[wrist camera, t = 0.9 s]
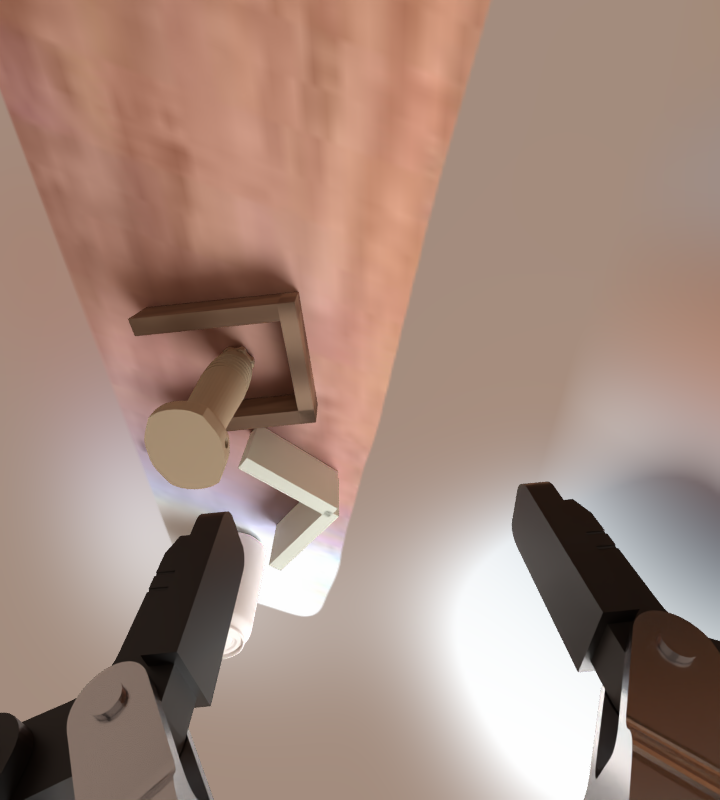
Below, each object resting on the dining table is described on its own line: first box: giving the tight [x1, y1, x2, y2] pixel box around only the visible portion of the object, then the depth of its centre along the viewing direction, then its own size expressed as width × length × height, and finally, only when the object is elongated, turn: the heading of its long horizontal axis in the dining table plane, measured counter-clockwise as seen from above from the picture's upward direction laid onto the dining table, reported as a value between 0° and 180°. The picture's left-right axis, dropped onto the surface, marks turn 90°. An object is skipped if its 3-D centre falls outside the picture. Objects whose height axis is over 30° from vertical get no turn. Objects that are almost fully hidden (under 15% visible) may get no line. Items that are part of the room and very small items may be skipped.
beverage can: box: [222, 532, 266, 659], centre depth 46 cm, size 8×8×12 cm
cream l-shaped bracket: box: [238, 427, 339, 570], centre depth 43 cm, size 17×9×6 cm, turn 5°
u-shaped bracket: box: [128, 292, 318, 431], centre depth 36 cm, size 12×14×4 cm
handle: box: [144, 346, 254, 489], centre depth 31 cm, size 5×6×15 cm
